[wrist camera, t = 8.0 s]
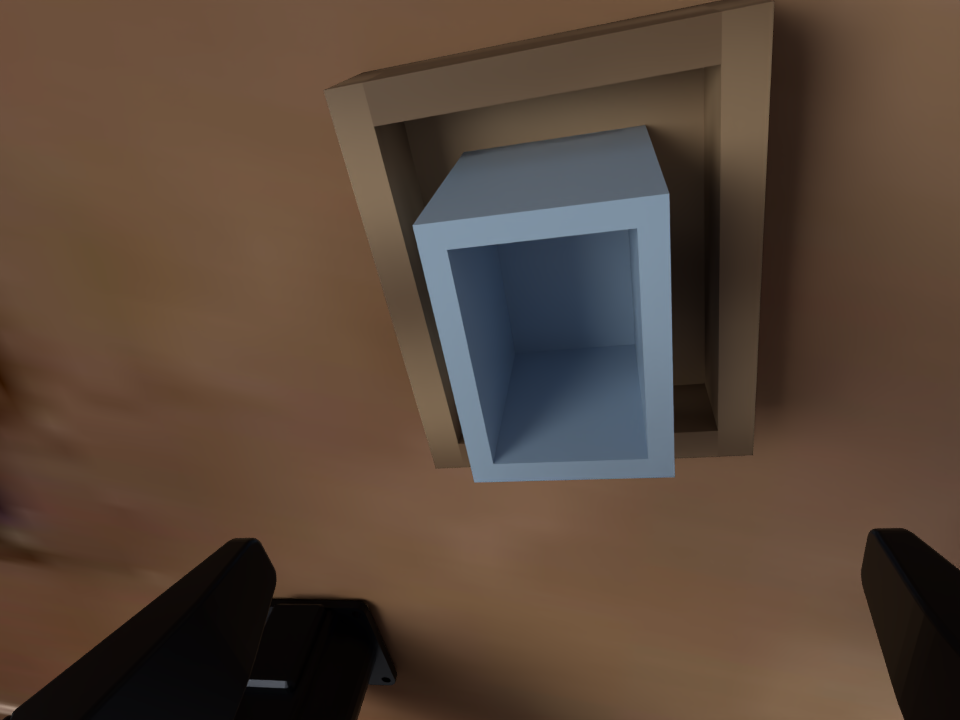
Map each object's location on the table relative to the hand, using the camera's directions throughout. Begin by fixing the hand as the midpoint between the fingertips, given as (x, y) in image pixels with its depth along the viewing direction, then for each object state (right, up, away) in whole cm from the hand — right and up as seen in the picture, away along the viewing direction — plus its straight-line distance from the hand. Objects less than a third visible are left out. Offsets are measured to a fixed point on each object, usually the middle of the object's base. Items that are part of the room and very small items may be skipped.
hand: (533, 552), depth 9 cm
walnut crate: (+2, +6, +10) cm, 12 cm away
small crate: (+2, +6, +10) cm, 11 cm away
